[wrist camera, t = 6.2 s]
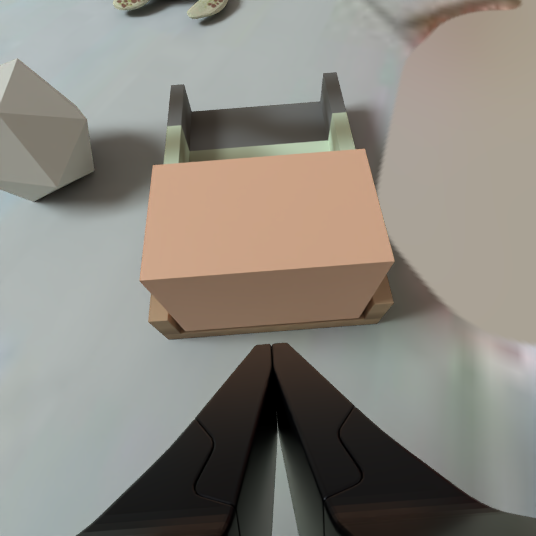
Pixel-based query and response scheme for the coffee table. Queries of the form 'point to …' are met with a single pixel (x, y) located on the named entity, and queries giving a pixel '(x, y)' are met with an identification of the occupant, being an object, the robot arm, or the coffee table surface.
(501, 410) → the coffee table surface
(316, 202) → the block
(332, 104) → the track
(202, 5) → the decorative turtle
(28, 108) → the die
